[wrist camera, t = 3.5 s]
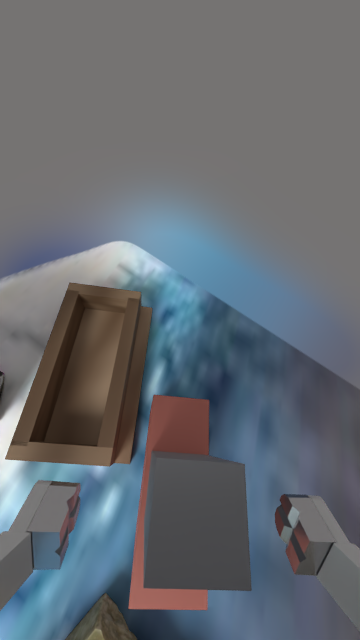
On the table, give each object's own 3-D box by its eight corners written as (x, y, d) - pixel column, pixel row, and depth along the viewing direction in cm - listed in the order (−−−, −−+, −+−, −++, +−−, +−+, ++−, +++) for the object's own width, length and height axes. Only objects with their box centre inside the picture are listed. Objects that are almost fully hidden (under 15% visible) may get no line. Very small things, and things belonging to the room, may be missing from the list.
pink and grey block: (184, 415, 23) (245, 376, 9) (178, 531, 19) (273, 789, 5) (150, 412, 23) (158, 367, 9) (136, 529, 19) (110, 798, 5)
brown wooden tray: (152, 311, 28) (153, 293, 25) (130, 462, 21) (127, 467, 17) (68, 301, 27) (56, 280, 24) (13, 454, 20) (-15, 458, 16)
